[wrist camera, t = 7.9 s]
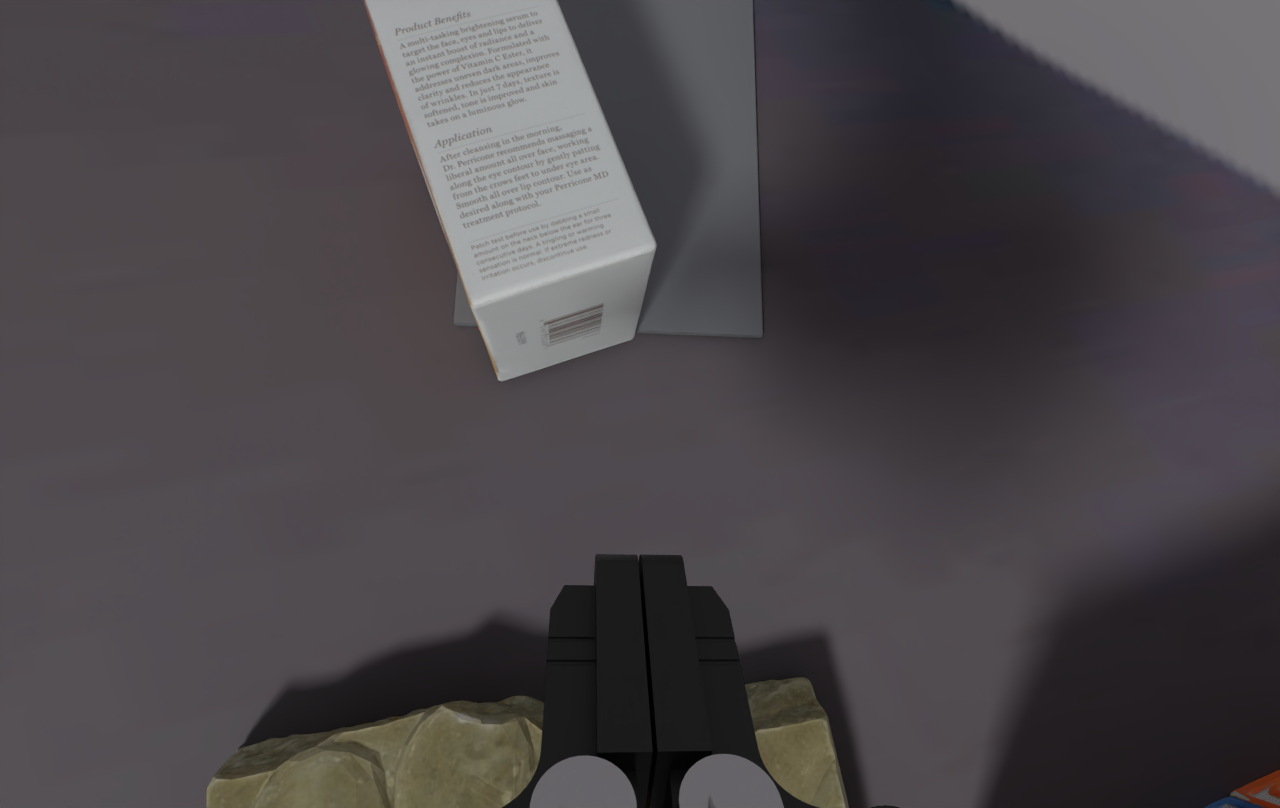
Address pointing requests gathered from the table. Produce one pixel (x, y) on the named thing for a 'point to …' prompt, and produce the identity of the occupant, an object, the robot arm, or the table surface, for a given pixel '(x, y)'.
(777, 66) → the table surface
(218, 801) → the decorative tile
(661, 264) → the mat
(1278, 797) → the stack of blocks
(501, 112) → the small box
